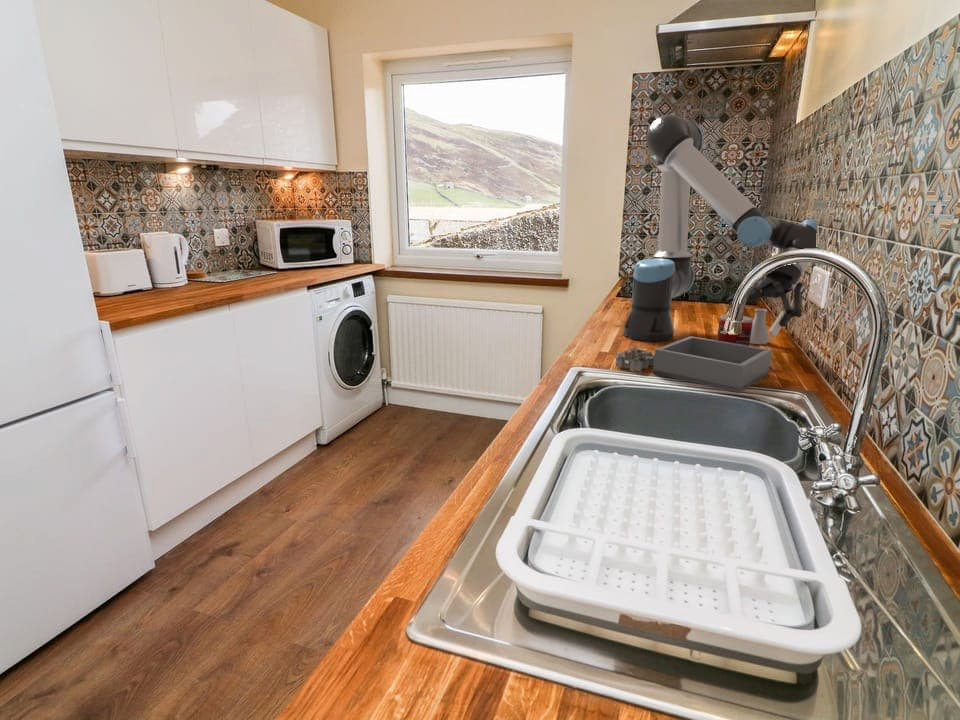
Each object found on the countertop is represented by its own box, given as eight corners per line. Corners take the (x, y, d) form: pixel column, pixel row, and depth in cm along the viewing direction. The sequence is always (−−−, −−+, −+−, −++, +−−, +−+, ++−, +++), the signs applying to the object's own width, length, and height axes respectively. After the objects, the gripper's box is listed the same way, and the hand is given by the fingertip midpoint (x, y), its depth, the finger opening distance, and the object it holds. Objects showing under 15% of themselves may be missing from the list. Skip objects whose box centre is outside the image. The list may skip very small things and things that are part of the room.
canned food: (716, 352, 151) (721, 313, 148) (748, 356, 147) (754, 316, 144) (712, 358, 144) (718, 318, 141) (745, 363, 140) (752, 321, 137)
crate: (687, 358, 144) (690, 336, 143) (768, 373, 131) (772, 349, 130) (652, 373, 130) (655, 349, 129) (739, 392, 117) (743, 366, 116)
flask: (754, 345, 159) (759, 312, 156) (737, 340, 166) (742, 307, 163) (775, 344, 160) (780, 311, 158) (757, 339, 167) (762, 307, 164)
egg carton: (636, 373, 131) (638, 357, 130) (610, 367, 137) (611, 351, 135) (659, 365, 138) (661, 350, 137) (633, 359, 144) (634, 344, 142)
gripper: (840, 283, 139) (798, 347, 135) (749, 273, 159) (711, 329, 156) (832, 263, 135) (789, 329, 131) (740, 256, 155) (701, 313, 152)
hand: (746, 329), depth 144 cm, fingers open, 13 cm apart
